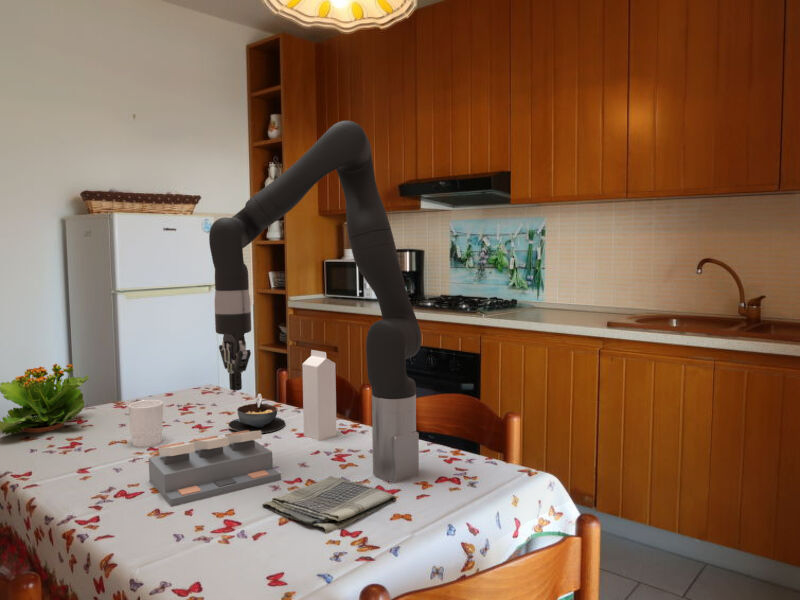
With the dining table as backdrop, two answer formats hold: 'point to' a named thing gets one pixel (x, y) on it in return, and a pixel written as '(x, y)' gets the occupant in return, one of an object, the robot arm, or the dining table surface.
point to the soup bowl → (257, 418)
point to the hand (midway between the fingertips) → (235, 389)
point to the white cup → (146, 422)
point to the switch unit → (211, 471)
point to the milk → (319, 396)
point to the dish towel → (330, 503)
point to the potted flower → (42, 400)
